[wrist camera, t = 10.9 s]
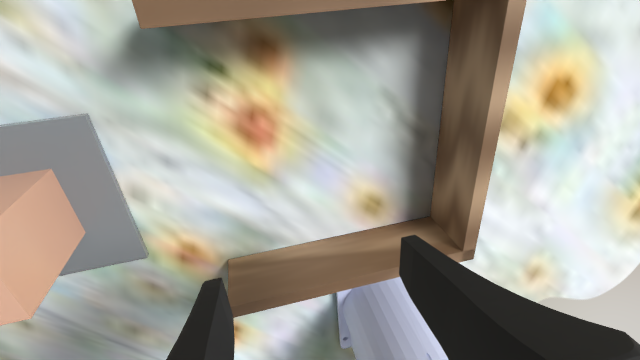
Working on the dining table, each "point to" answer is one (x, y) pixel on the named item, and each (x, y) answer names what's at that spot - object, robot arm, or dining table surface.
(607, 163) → the dining table surface
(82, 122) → the mat
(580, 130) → the dining table surface
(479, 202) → the open frame
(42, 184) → the block
